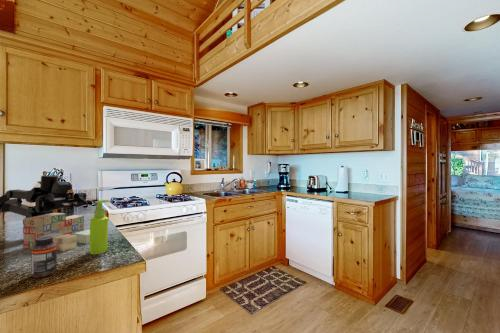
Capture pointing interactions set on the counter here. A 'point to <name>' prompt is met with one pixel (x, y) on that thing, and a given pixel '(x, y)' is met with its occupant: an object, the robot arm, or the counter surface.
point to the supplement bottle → (43, 257)
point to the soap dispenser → (99, 230)
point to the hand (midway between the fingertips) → (75, 204)
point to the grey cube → (53, 236)
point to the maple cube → (66, 242)
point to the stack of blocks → (50, 226)
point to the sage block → (83, 236)
